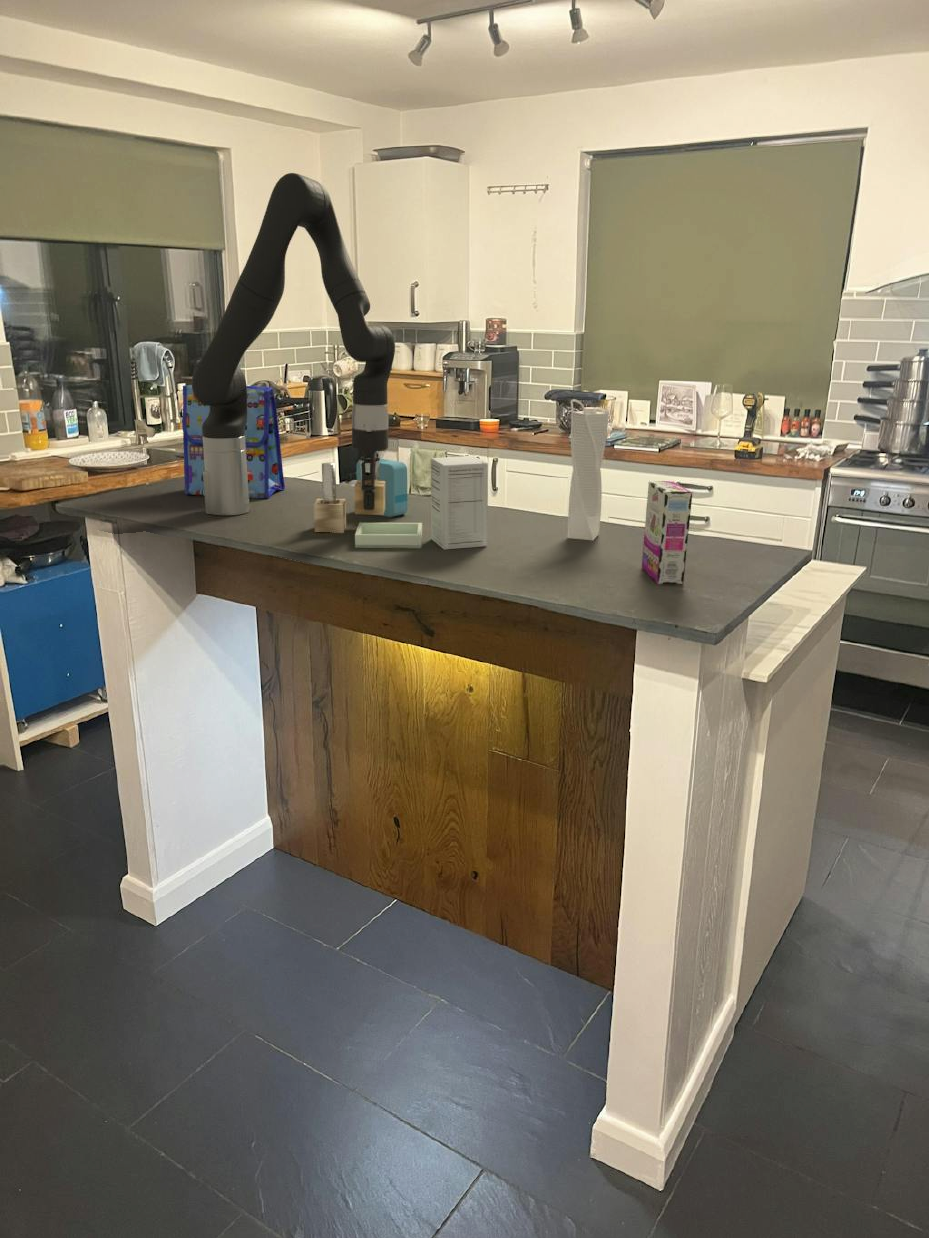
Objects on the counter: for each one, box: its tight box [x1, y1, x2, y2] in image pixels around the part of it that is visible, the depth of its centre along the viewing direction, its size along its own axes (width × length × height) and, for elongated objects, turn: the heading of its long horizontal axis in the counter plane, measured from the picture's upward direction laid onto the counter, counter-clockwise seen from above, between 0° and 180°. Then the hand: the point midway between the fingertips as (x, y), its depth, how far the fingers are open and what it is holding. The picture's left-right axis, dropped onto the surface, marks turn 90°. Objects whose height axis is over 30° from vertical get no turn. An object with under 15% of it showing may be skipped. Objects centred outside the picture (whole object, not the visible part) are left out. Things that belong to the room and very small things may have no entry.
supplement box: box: [430, 455, 489, 551], centre depth 186 cm, size 10×9×17 cm
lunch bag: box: [181, 384, 286, 499], centre depth 231 cm, size 22×14×29 cm, turn 82°
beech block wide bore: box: [313, 498, 347, 534], centre depth 198 cm, size 6×6×6 cm
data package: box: [355, 458, 408, 518], centre depth 213 cm, size 12×4×12 cm, turn 50°
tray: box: [354, 522, 423, 549], centre depth 189 cm, size 13×11×3 cm
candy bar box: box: [641, 480, 693, 586], centre depth 165 cm, size 11×5×16 cm, turn 5°
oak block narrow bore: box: [354, 479, 385, 516], centre depth 198 cm, size 6×6×6 cm
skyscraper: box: [567, 398, 609, 541], centre depth 191 cm, size 8×8×28 cm
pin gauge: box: [321, 462, 337, 504], centre depth 197 cm, size 3×3×14 cm
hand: (370, 505), depth 198 cm, fingers closed on oak block narrow bore, 6 cm apart
